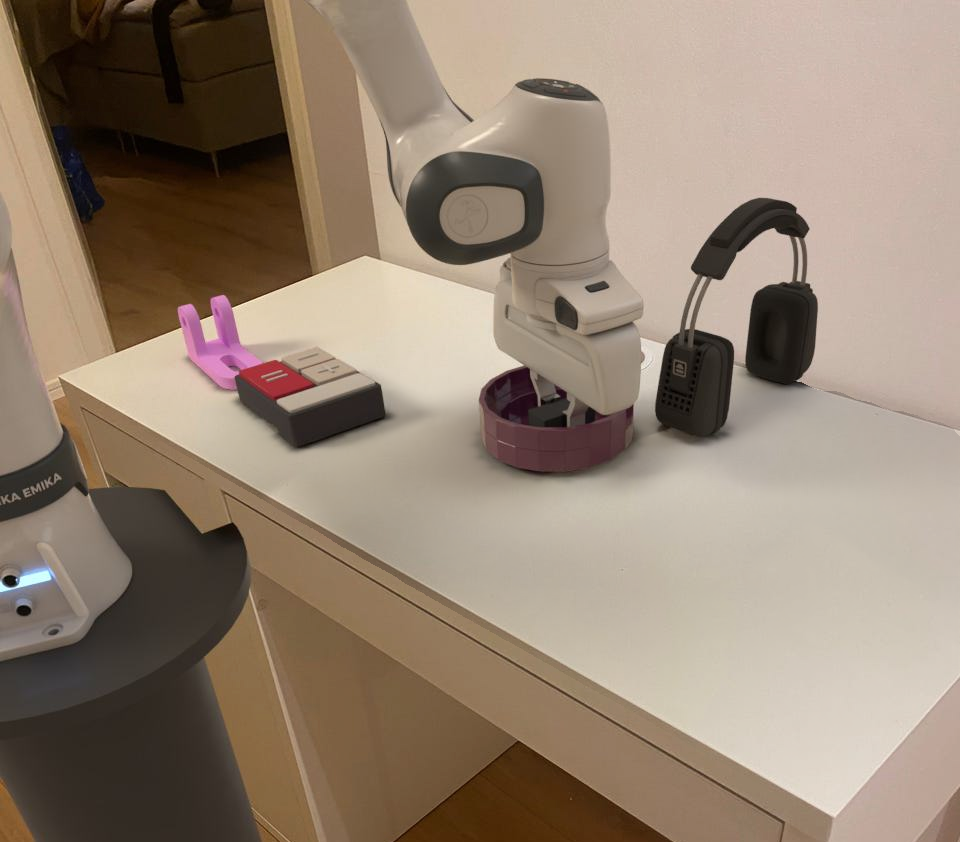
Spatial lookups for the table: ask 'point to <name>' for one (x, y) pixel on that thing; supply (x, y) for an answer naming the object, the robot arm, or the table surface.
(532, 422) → the eraser
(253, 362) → the bracket
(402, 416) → the table surface
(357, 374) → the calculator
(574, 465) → the bowl
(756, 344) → the headphones
